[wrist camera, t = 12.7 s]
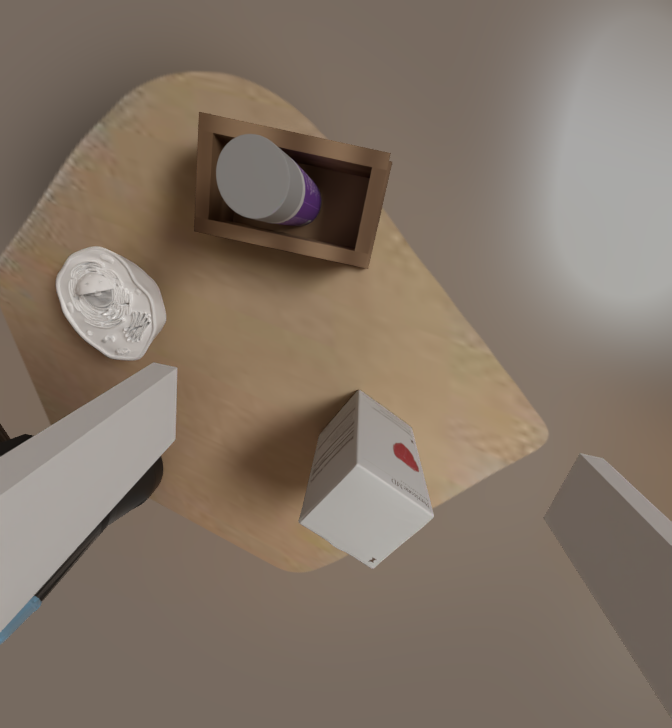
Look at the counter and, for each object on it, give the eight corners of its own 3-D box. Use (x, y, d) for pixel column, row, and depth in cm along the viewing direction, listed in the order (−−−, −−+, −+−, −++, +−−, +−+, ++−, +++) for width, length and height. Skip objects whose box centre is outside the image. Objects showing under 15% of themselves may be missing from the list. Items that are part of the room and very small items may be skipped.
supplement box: (414, 427, 43) (439, 519, 29) (370, 471, 46) (373, 573, 32) (358, 386, 42) (357, 462, 28) (316, 434, 45) (295, 525, 31)
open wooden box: (219, 236, 37) (188, 236, 30) (226, 128, 33) (193, 102, 26) (367, 267, 37) (369, 275, 30) (391, 163, 33) (398, 146, 26)
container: (331, 193, 33) (307, 164, 19) (306, 236, 35) (267, 237, 21) (290, 164, 33) (236, 111, 19) (267, 208, 34) (200, 190, 20)
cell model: (117, 352, 43) (74, 373, 36) (76, 253, 38) (20, 257, 32) (192, 341, 41) (162, 361, 35) (159, 238, 37) (117, 239, 31)
